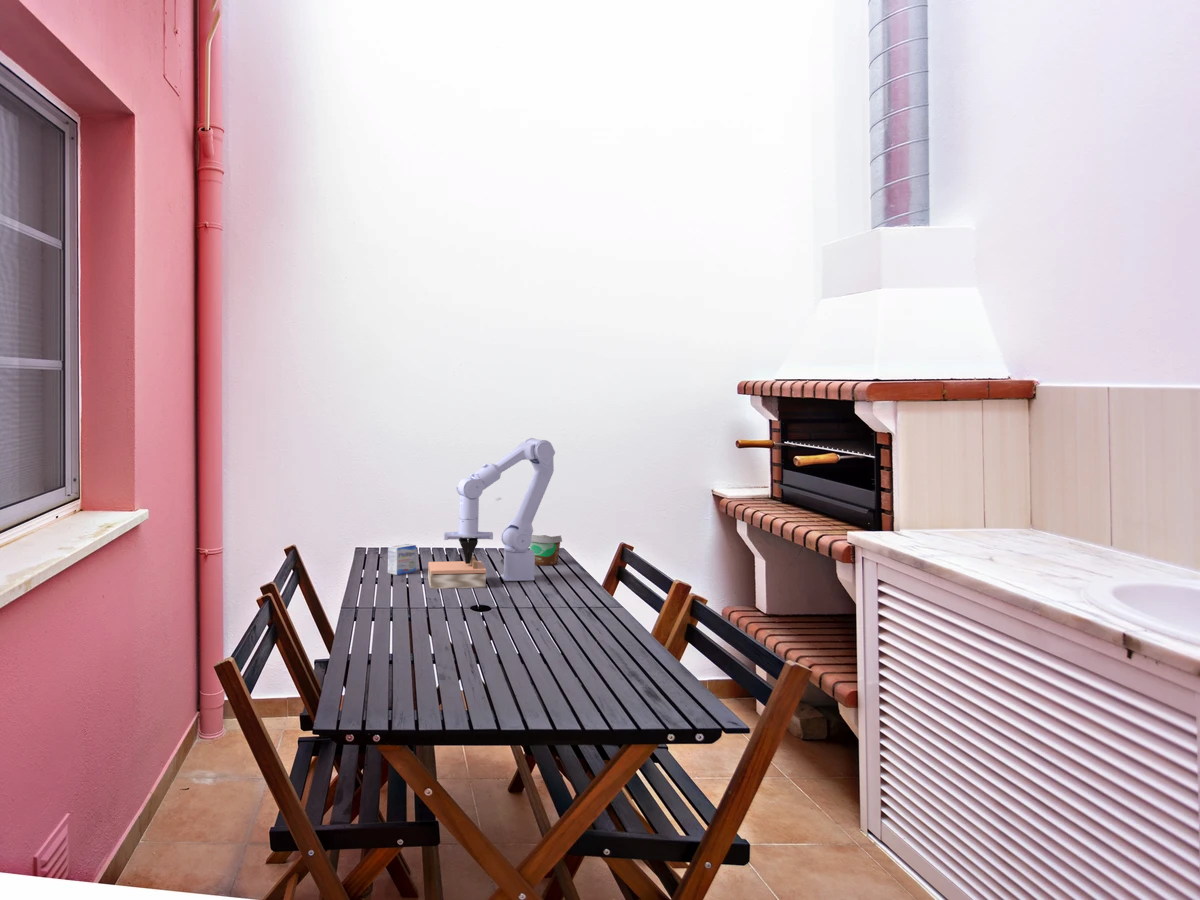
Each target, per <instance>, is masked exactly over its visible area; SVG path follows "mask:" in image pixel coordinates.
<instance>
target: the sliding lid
mask: <svg viewBox="0 0 1200 900" xmlns="http://www.w3.org/2000/svg"><path fill="white" fill-rule="evenodd" d="M428 566H429V569H430V573H431V574H464V573H486V574H487V568H486V567H485V565H484V564H483V562H482V560H477V558H476V557H475V555H472V558H471V563H470V564H466V563H465V560H462V561H459V560H458V561H428ZM428 566H427V567H428Z"/></svg>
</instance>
